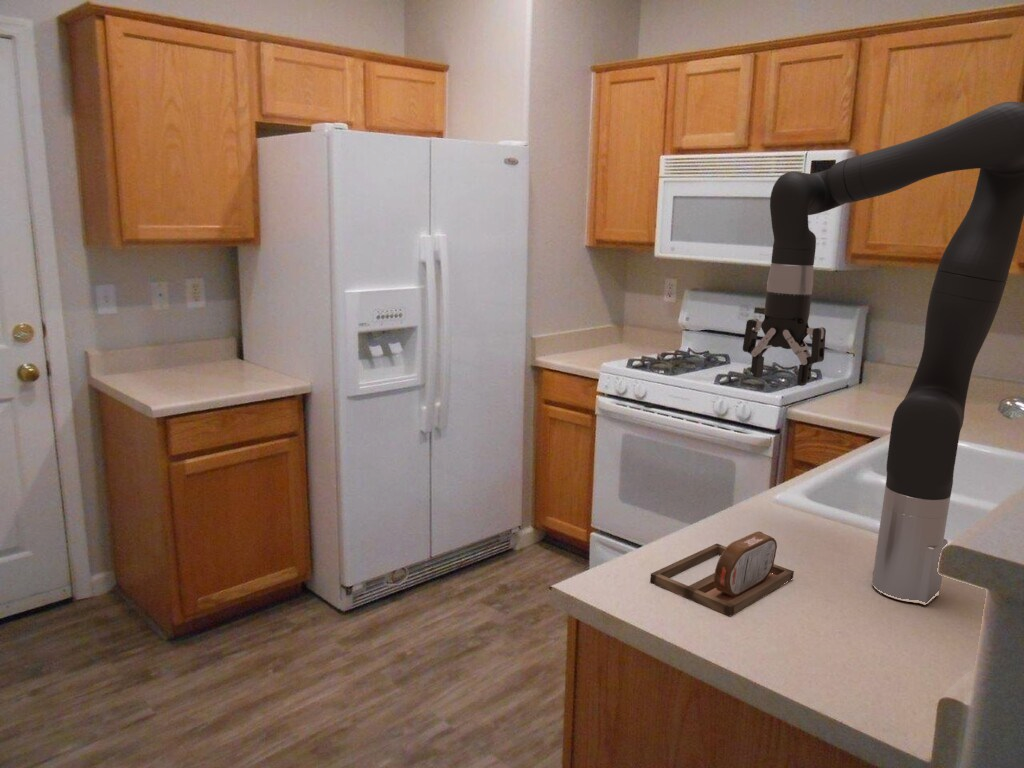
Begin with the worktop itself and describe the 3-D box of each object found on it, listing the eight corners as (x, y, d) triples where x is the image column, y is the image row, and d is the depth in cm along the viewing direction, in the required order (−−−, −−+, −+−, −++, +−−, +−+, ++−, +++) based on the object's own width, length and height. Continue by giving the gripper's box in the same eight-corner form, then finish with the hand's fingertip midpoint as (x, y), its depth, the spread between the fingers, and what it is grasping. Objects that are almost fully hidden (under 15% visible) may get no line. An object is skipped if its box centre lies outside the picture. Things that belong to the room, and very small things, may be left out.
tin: (759, 571, 132) (764, 524, 131) (777, 578, 130) (782, 530, 128) (710, 598, 122) (714, 547, 120) (727, 605, 120) (733, 553, 118)
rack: (792, 579, 130) (793, 571, 130) (729, 616, 117) (730, 607, 117) (715, 551, 141) (716, 543, 140) (650, 582, 127) (650, 573, 127)
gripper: (838, 293, 135) (826, 385, 139) (762, 286, 145) (753, 372, 149) (818, 295, 130) (807, 390, 134) (741, 287, 140) (732, 376, 144)
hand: (778, 381), depth 141 cm, fingers open, 8 cm apart
